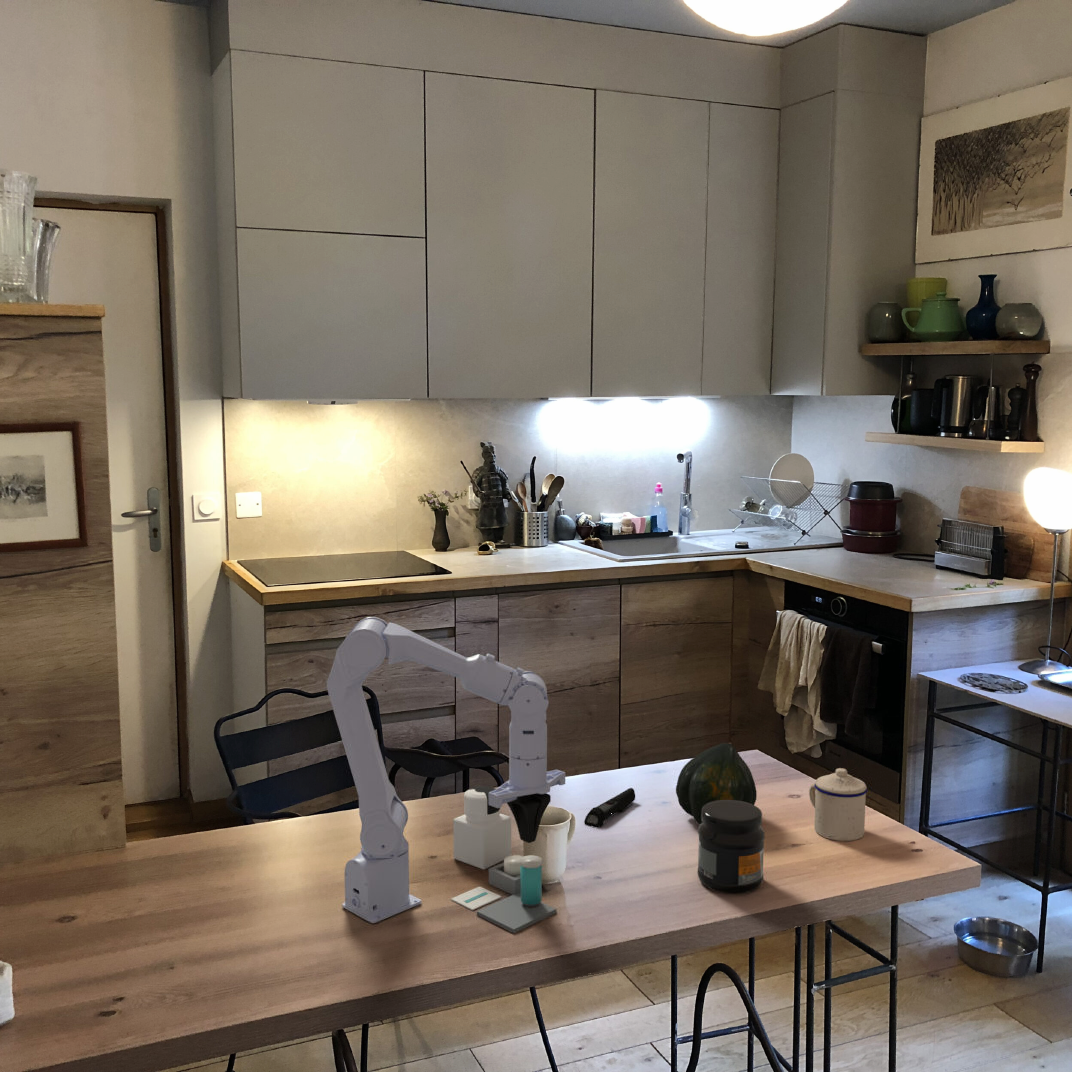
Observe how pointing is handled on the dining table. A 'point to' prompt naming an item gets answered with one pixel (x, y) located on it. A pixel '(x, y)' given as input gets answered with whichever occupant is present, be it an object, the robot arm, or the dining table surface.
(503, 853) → the medicine bottle
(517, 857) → the button
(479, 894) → the card
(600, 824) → the electric trimmer
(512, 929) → the board
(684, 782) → the squash
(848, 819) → the teacup with lid
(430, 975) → the dining table surface
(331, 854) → the dining table surface
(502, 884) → the button box
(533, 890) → the marker
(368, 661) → the robot arm
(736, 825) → the supplement container
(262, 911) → the dining table surface
